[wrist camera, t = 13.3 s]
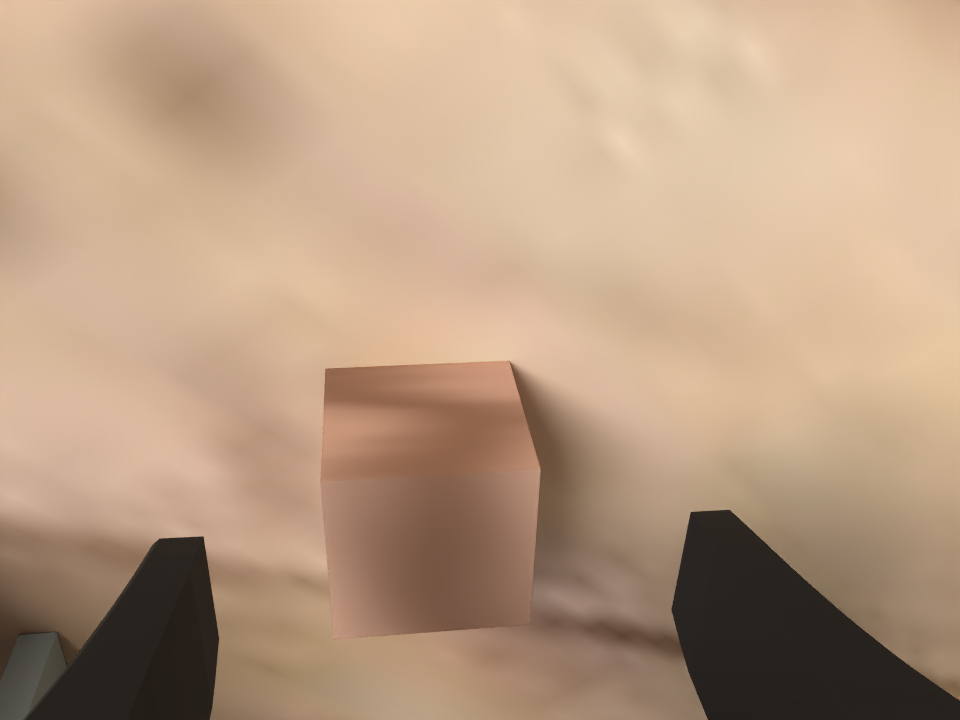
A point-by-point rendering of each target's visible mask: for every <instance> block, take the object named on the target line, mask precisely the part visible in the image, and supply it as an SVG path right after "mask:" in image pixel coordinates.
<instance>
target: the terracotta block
mask: <svg viewBox="0 0 960 720" xmlns="http://www.w3.org/2000/svg"><path fill="white" fill-rule="evenodd" d="M540 472H541V469H540V465H539V462H538V458H537V455H536V451H535V448H534V445H533V441H532V438H531V434H530V431H529V427H528V424H527V420H526V417H525V414H524V410H523V407H522V403H521V400H520V396H519V393H518V390H517V386H516V383H515V379H514V376H513V372H512V369H511V365H510V362H509V361H492V362H469V363H446V364H424V365H401V366H378V367H355V368H332V369H326V370H325V393H324V416H323V438H322V461H321V493H322V505H323V516H324V528H325V540H326V552H327V564H328V576H329V587H330V599H331V611H332V623H333V635H334V640H336V639H348V638H361V637H374V636H387V635H400V634H413V633H426V632H439V631H452V630H465V629H478V628H491V627H504V626H517V625H529V624H530V617H531V603H532V588H533V574H534V559H535V545H536V530H537V516H538V501H539V486H540Z"/></svg>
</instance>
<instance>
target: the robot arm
mask: <svg viewBox="0 0 960 720" xmlns="http://www.w3.org/2000/svg"><path fill="white" fill-rule="evenodd" d="M672 613H673V617H674V621H675V625H676V629H677V632H678V636H679V640H680V644H681V647H682V651H683V654H684V658H685V661H686V665H687V668H688V671H689V674H690V677H691V679H692V682H693V684H694V687H695V689H696V691H697V694H698V696H699V699H700V701H701V704H702V706H703V708H704V711H705V713H706V716H707V718H708V720H960V701H959V700H958V699H956V698H955V697H953V696H952V695H950V694H949V693H948V692H946V691H945V690H943V689H942V688H940V687H939V686H937V685H936V684H935V683H933V682H932V681H930V680H929V679H927V678H926V677H925V676H923V675H922V674H920V673H919V672H917V671H916V670H914V669H913V668H912V667H910V666H909V665H908V664H906V663H905V662H904V661H902V660H901V659H900V658H898V657H897V656H896V655H894V654H893V653H892V652H890V651H889V650H888V649H887V648H885V647H884V646H883V645H882V644H880V643H879V642H878V641H877V640H875V639H874V638H873V637H871V636H870V635H869V634H868V633H866V632H865V631H864V630H863V629H861V628H860V627H859V626H858V625H856V624H855V623H854V622H853V621H852V620H850V619H849V618H848V617H847V616H846V615H845V614H843V613H842V612H841V611H840V610H839V609H837V608H836V607H835V606H834V605H833V604H832V603H830V602H829V601H828V600H827V599H826V598H825V597H824V596H822V595H821V594H820V593H819V592H818V591H817V590H816V589H815V588H813V587H812V586H811V585H810V584H809V583H808V582H807V581H806V580H805V579H803V578H802V577H801V576H800V575H799V574H798V573H797V572H796V571H795V570H794V569H792V568H791V567H790V566H789V565H788V564H787V563H786V562H785V561H784V560H783V559H782V558H781V557H780V556H778V555H777V554H776V553H775V552H774V551H773V550H772V549H771V548H770V547H769V546H768V545H767V544H766V543H765V542H764V541H762V540H761V539H760V538H759V537H758V536H757V535H756V534H755V533H754V532H753V531H752V530H751V529H750V528H749V527H748V526H747V525H745V524H744V523H743V522H742V521H741V520H740V519H739V518H738V517H737V516H736V515H735V514H733V513H732V512H731V511H730V510H720V511H700V512H691V514H690V519H689V524H688V529H687V534H686V539H685V544H684V549H683V554H682V559H681V564H680V569H679V575H678V580H677V585H676V590H675V595H674V600H673V605H672ZM218 644H219V635H218V629H217V622H216V616H215V609H214V603H213V596H212V589H211V583H210V576H209V570H208V563H207V557H206V550H205V544H204V537H184V538H164V539H159V540H158V541H157V542H155V543H154V544H153V545H152V547H151V548H150V550H149V552H148V553H147V555H146V556H145V558H144V560H143V561H142V563H141V564H140V566H139V567H138V569H137V570H136V572H135V574H134V575H133V577H132V578H131V580H130V581H129V583H128V584H127V586H126V587H125V589H124V590H123V592H122V593H121V594H120V596H119V597H118V599H117V600H116V602H115V603H114V605H113V606H112V608H111V609H110V610H109V612H108V613H107V615H106V616H105V617H104V619H103V620H102V621H101V623H100V624H99V625H98V627H97V628H96V630H95V631H94V632H93V634H92V635H91V636H90V638H89V639H88V640H87V642H86V643H85V644H84V646H83V647H82V648H81V650H80V651H79V653H78V654H77V655H76V656H75V658H74V659H73V660H72V662H71V663H70V664H69V665H68V667H67V668H66V669H65V670H64V671H63V673H62V674H61V675H60V676H59V677H58V679H57V680H56V681H55V682H54V684H53V685H52V686H51V687H50V688H49V690H48V691H47V692H46V693H45V694H44V696H43V697H42V698H41V699H40V701H39V702H38V703H37V704H36V705H35V707H34V708H33V709H32V710H31V711H30V712H29V714H28V715H27V716H26V717H25V718H24V719H23V720H210V715H211V710H212V704H213V695H214V685H215V676H216V665H217V654H218Z"/></svg>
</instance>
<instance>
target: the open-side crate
mask: <svg viewBox="0 0 960 720" xmlns="http://www.w3.org/2000/svg"><path fill="white" fill-rule="evenodd" d="M66 668H67V665H66V661H65V658H64V655H63V651H62V648H61V645H60V641H59V638H58V635H57V632H50V633H36V634H23V635H18V638H17V640H16V643H15V645H14V648H13V650H12V653H11V655H10V658H9V660H8V663H7V665H6V668H5V670H4V673H3V675H2V678H1V680H0V720H23V719H24V718H25V717H26V716H27V715H28V714H29V712H30V711H31V710H32V709H33V708H34V707H35V705H36V704H37V703H38V702H39V701H40V699H41V698H42V697H43V696H44V694H45V693H46V692H47V691H48V690H49V688H50V687H51V686H52V685H53V684H54V682H55V681H56V680H57V679H58V677H59V676H60V675H61V674H62V673H63V671H64V670H65V669H66Z"/></svg>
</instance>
